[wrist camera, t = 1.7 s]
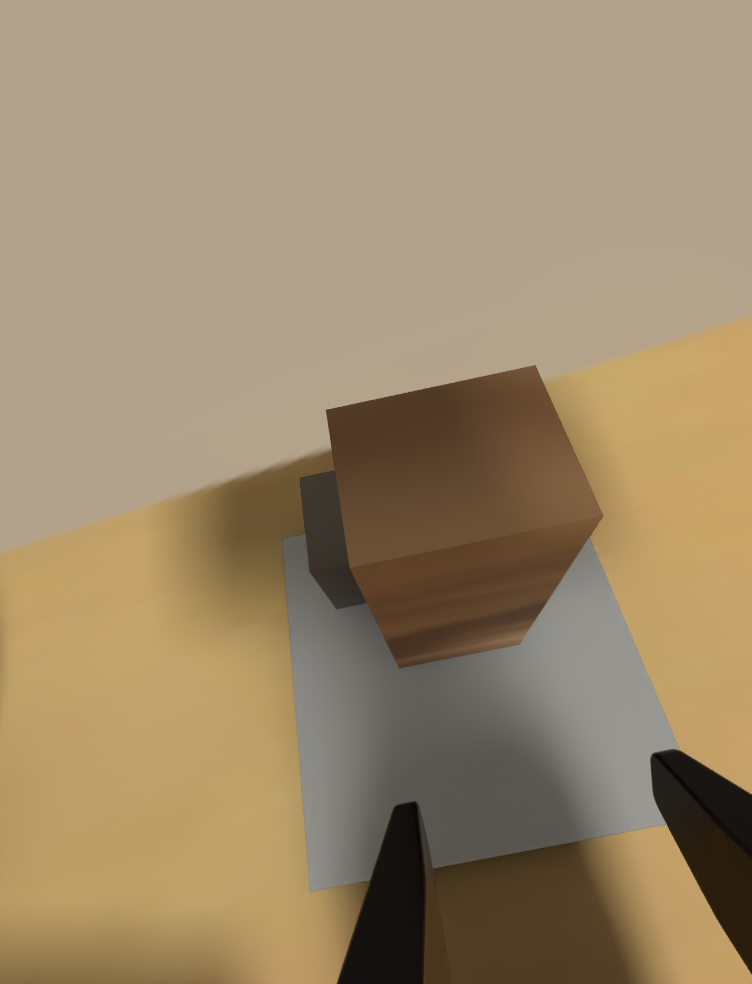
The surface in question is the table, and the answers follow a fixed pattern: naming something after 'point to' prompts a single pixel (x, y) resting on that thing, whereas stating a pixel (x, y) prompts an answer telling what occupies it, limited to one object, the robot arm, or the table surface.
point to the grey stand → (462, 719)
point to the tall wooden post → (459, 511)
